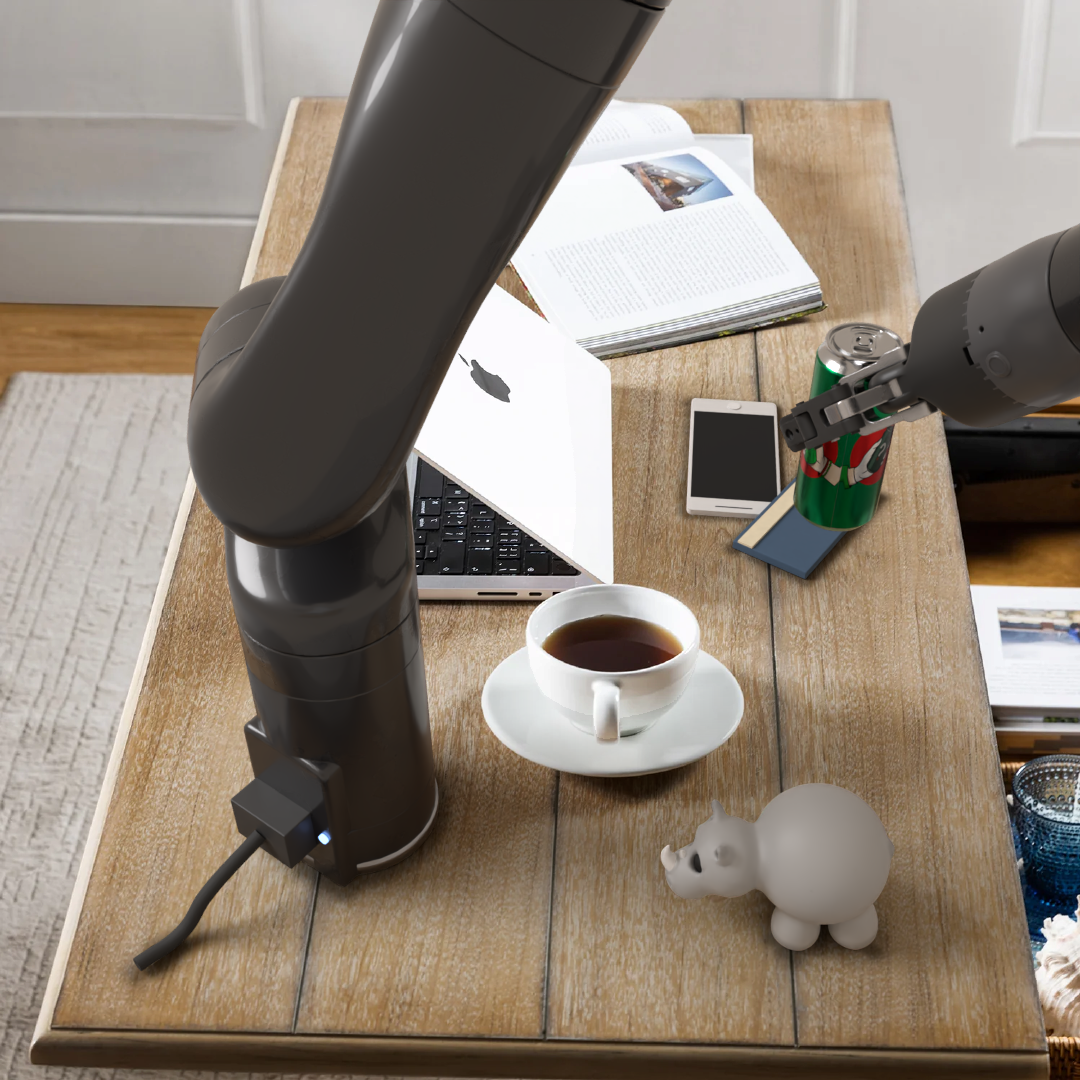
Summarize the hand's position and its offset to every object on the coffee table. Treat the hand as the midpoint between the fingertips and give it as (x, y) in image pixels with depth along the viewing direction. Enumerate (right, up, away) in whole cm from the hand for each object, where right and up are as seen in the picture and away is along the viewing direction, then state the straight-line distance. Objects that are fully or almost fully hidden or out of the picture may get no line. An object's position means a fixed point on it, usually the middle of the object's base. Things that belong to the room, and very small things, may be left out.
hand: (825, 420), depth 76 cm
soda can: (+1, -5, +3) cm, 6 cm away
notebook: (+3, -6, +20) cm, 21 cm away
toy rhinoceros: (-5, -27, -6) cm, 28 cm away
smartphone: (-1, -1, +27) cm, 27 cm away
